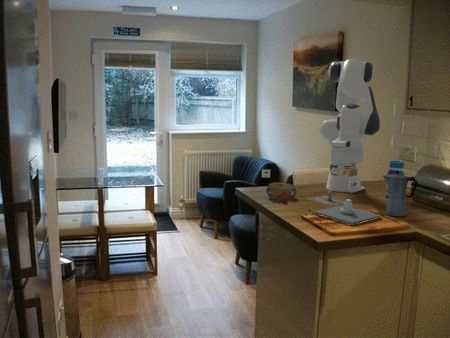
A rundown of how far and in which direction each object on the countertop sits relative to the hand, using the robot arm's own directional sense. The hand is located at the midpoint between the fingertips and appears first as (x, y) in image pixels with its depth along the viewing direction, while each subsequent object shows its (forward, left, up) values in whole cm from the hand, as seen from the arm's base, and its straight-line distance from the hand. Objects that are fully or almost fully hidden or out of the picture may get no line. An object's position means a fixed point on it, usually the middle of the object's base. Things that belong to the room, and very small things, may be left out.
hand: (346, 173), depth 192 cm
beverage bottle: (-45, -4, -19) cm, 48 cm away
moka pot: (-21, +13, -19) cm, 31 cm away
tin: (+4, -35, -19) cm, 40 cm away
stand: (-11, -17, -18) cm, 27 cm away
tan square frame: (0, 0, -1) cm, 1 cm away
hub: (+1, +3, -18) cm, 19 cm away
